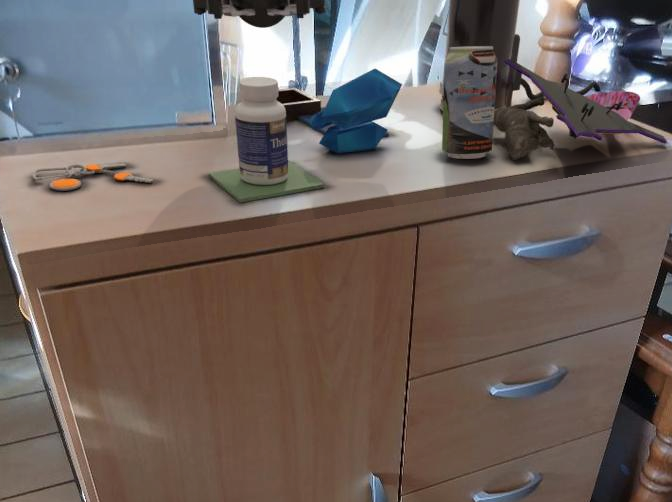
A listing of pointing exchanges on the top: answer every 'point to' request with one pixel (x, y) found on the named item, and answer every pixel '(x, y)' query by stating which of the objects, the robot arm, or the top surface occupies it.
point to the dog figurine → (523, 128)
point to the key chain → (74, 183)
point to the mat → (249, 192)
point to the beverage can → (469, 101)
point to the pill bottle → (261, 132)
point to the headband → (611, 98)
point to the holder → (298, 103)
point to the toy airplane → (583, 110)
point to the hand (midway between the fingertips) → (258, 6)
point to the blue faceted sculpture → (357, 113)
